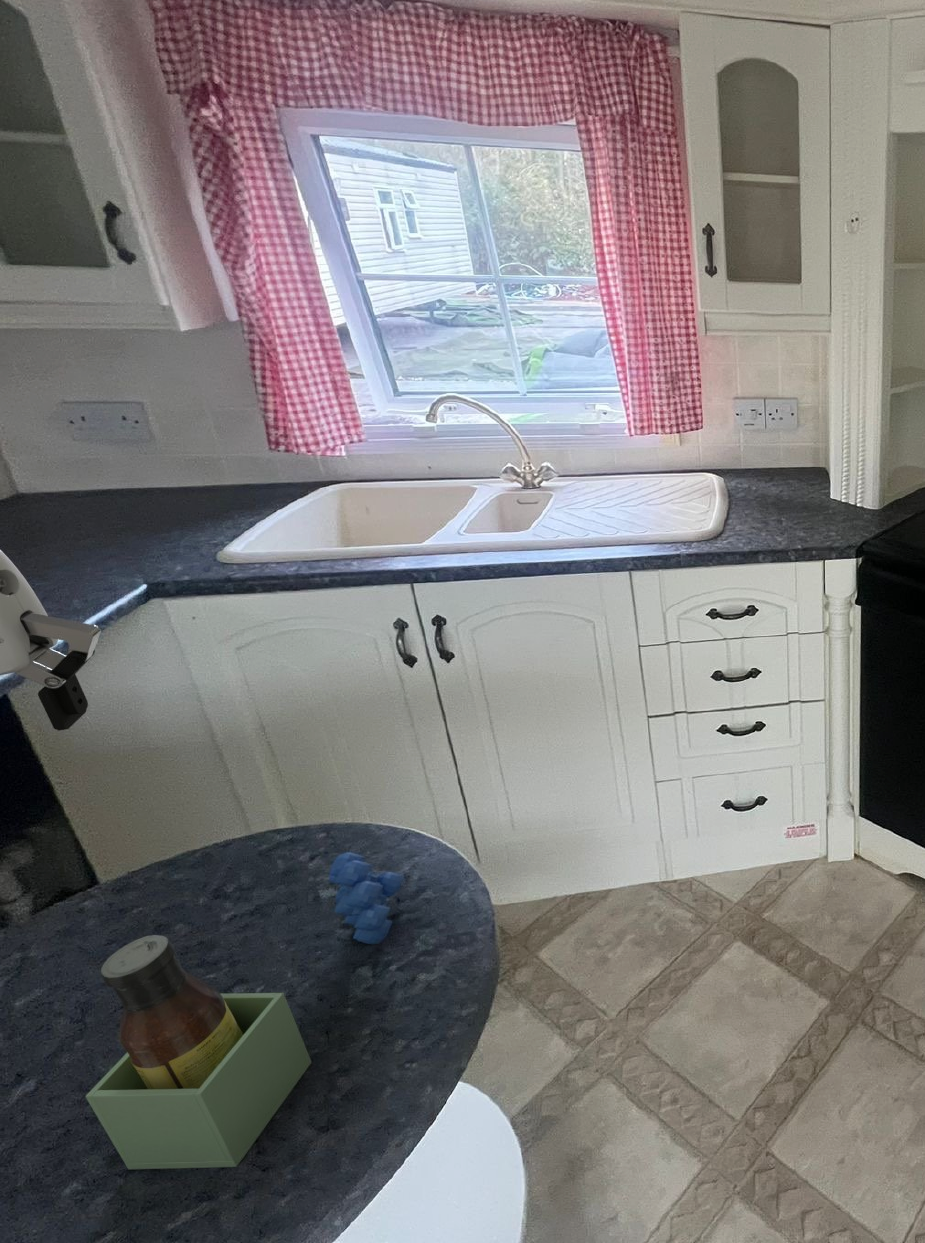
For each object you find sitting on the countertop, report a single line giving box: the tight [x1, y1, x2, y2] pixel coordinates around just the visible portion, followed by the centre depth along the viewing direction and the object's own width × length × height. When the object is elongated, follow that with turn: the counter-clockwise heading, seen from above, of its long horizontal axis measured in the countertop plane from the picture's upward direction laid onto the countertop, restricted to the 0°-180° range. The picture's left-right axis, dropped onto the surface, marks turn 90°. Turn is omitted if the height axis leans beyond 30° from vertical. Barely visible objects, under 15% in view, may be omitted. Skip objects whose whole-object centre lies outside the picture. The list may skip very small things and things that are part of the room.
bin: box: [84, 992, 312, 1170], centre depth 67 cm, size 9×9×10 cm
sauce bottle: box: [100, 934, 243, 1089], centre depth 65 cm, size 7×6×20 cm
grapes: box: [328, 851, 405, 945], centre depth 85 cm, size 12×7×12 cm, turn 51°
